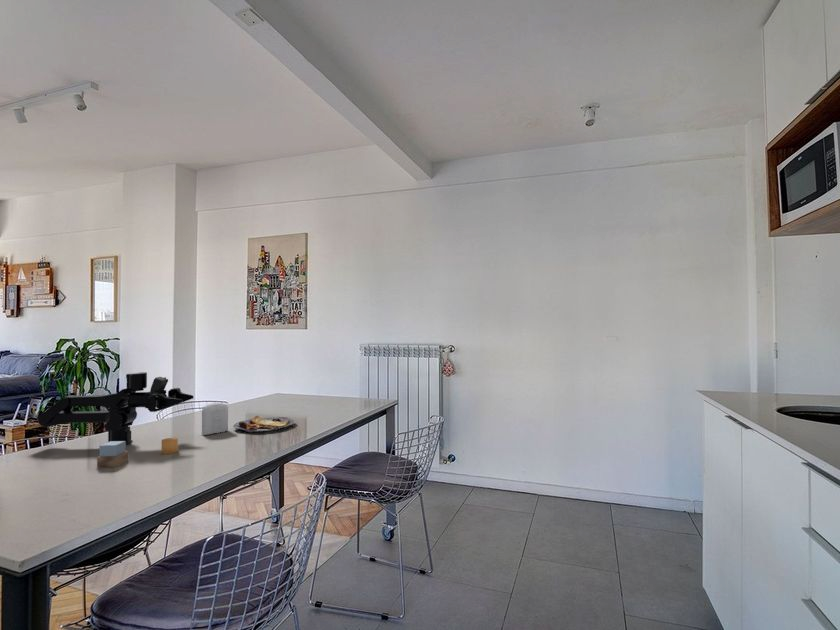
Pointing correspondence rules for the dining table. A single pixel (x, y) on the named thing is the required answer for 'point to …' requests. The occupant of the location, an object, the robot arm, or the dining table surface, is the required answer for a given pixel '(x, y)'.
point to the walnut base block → (112, 460)
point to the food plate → (264, 424)
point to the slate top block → (112, 448)
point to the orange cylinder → (169, 445)
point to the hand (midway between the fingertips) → (187, 398)
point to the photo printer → (214, 418)
